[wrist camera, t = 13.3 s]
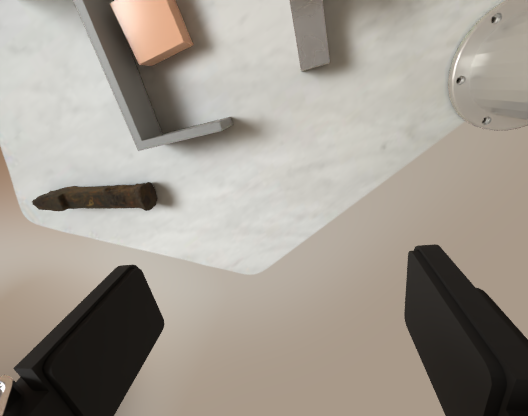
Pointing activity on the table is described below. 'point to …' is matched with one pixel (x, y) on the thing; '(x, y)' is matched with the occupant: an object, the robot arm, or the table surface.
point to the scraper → (310, 33)
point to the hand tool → (99, 197)
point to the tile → (152, 28)
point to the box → (131, 79)
